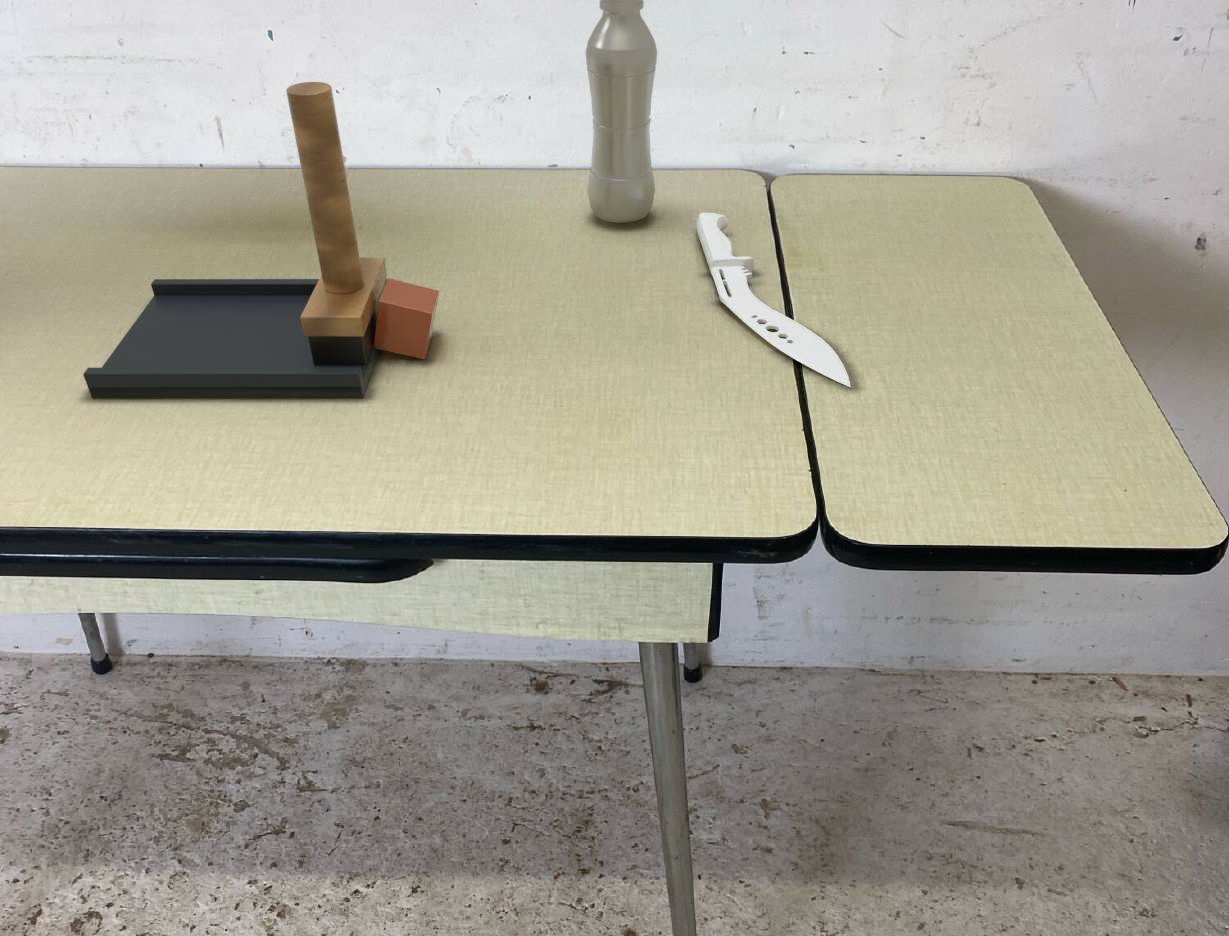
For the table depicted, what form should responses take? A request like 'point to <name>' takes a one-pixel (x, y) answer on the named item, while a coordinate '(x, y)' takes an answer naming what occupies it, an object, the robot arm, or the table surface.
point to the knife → (753, 311)
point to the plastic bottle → (621, 112)
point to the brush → (333, 237)
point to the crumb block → (405, 318)
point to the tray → (224, 345)
